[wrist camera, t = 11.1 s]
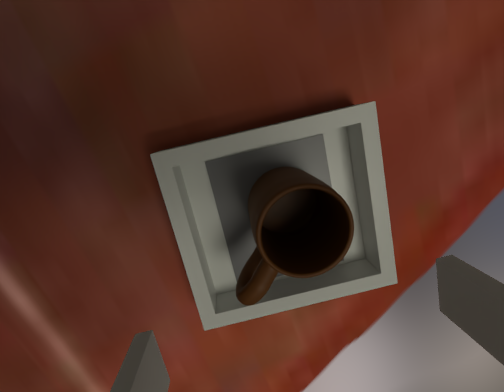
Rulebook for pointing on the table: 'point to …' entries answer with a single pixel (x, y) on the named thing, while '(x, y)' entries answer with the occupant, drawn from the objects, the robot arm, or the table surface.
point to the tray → (237, 217)
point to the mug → (293, 230)
